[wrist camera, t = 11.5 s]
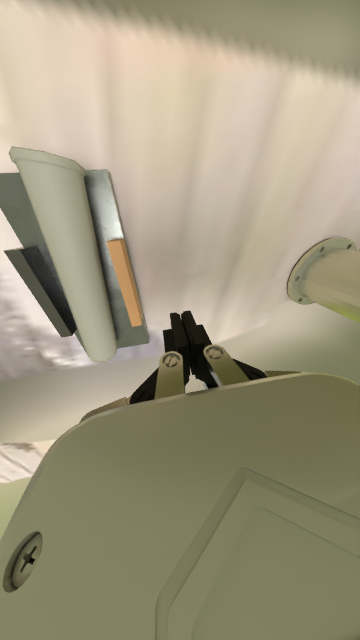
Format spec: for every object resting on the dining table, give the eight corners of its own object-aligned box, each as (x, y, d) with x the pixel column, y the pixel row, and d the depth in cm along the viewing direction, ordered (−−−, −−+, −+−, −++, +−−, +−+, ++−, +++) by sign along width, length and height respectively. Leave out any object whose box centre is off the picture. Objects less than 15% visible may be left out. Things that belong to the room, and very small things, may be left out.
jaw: (123, 238, 19) (119, 240, 17) (142, 315, 26) (141, 325, 23) (111, 239, 19) (106, 241, 17) (133, 317, 26) (132, 326, 23)
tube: (123, 362, 26) (84, 160, 12) (88, 373, 24) (-7, 139, 10) (118, 343, 30) (84, 174, 16) (87, 351, 27) (18, 160, 14)
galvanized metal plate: (109, 173, 17) (98, 159, 13) (149, 338, 31) (149, 353, 27) (-7, 178, 16) (-55, 163, 12) (89, 347, 29) (80, 365, 26)
